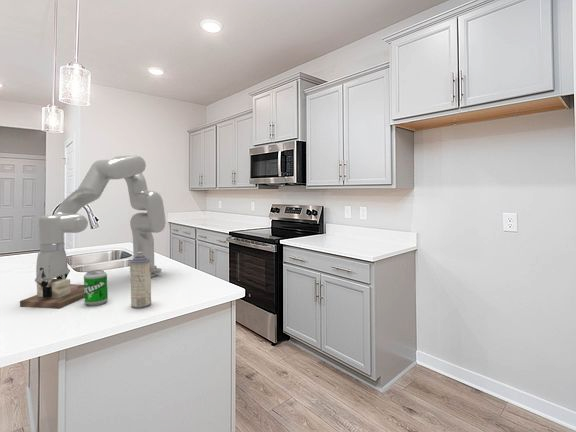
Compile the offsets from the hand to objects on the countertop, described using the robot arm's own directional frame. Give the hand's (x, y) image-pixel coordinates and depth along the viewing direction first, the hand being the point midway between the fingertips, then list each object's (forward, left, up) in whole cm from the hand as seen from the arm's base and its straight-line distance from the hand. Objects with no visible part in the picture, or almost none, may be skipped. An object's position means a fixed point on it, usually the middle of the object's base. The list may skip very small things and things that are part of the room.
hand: (54, 294), depth 125 cm
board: (0, -4, -3) cm, 5 cm away
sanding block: (0, 0, -1) cm, 1 cm away
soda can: (-17, 0, -3) cm, 17 cm away
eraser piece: (0, -7, -1) cm, 7 cm away
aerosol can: (-35, 0, -3) cm, 35 cm away
